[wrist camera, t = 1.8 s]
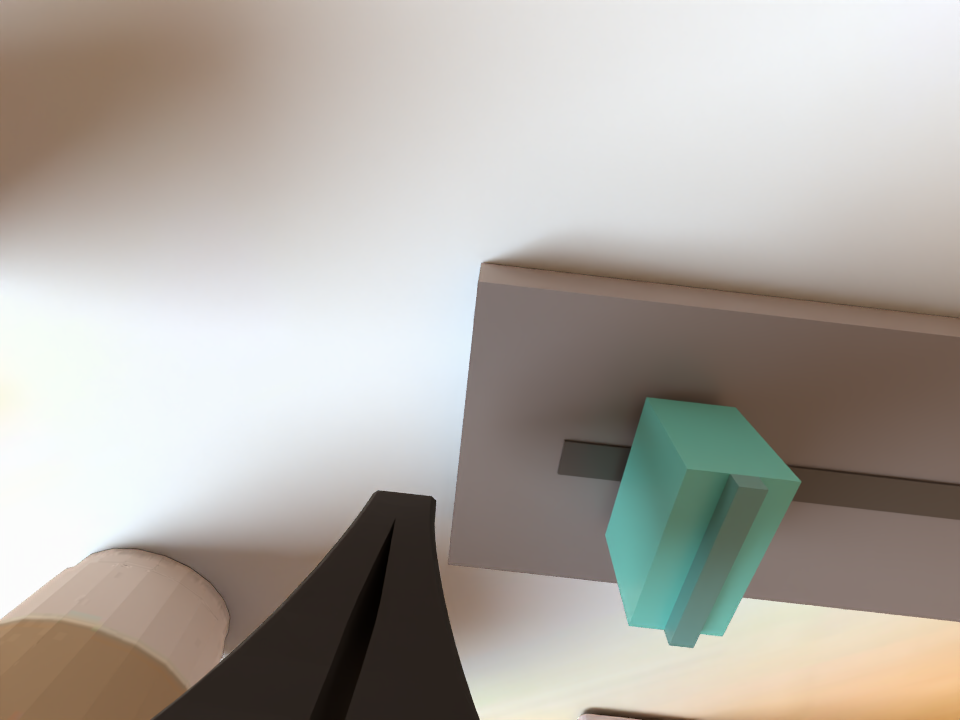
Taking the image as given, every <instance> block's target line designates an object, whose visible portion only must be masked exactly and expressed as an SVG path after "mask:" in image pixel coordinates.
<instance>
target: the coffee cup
mask: <svg viewBox="0 0 960 720" xmlns="http://www.w3.org/2000/svg"><path fill="white" fill-rule="evenodd" d="M229 620H230V616H229V613H228V610H227V607H226V604H225V602H224V599H223V598H222V597H221V596H220V594H219V593H218V592H217V591H216V589H215V588H214V587H213V586H212V585H211V583H210V582H208V581H207V580H206V579H204V578H203V577H202V576H200V575H199V574H198V573H196V572H195V571H194V570H192V569H191V568H190V567H187V566H185V565H183V564H181V563H179V562H177V561H175V560H172V559H170V558H168V557H166V556H163V555H159V554H155V553H151V552H147V551H143V550H139V549H109V550H105V551H101V552H97V553H93V554H91V555H89V556H88V557H86V558H85V559H84V560H82V561H81V562H80V563H78V564H77V565H76V566H74V567H70V568H67V569H65V570H64V571H62V572H61V573H60V574H58V575H57V576H56V577H54V578H53V579H51V580H50V581H49V582H48V583H46V584H45V585H44V586H42V587H41V588H40V589H39V590H37V591H36V592H35V593H34V594H32V595H31V596H30V597H28V598H27V599H26V600H25V601H23V602H22V603H21V604H20V605H18V606H17V607H16V608H15V609H13V610H12V611H11V612H9V613H8V614H7V615H6V616H4V617H3V618H2V619H1V620H0V720H150V719H152V718H153V717H154V716H156V715H157V714H158V713H159V712H161V711H162V710H163V709H165V708H166V707H167V706H168V705H170V704H171V703H172V702H174V701H175V700H176V699H177V698H179V697H180V696H181V695H182V694H183V693H185V692H186V691H187V690H188V689H190V688H191V687H192V686H193V685H194V684H195V683H197V682H198V681H199V680H200V679H201V678H203V677H204V676H205V675H206V674H207V673H208V672H210V671H211V670H212V669H213V668H214V667H215V666H216V665H217V664H219V663H220V660H221V658H222V655H223V649H224V640H225V638H226V635H227V633H228V628H229Z"/></svg>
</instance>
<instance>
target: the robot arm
mask: <svg viewBox="0 0 960 720" xmlns="http://www.w3.org/2000/svg"><path fill="white" fill-rule="evenodd" d="M435 511H436V500H435V499H434V498H433V497H432V496H424V495H415V494H406V493H397V492H388V491H379V490H378V491H376V492H375V493H373V495H372V496H371V498H370V499H369V501H368V502H367V504H366V505H365V507H364V508H363V509H362V511H361V512H360V514H359V515H358V516H357V518H356V519H355V520H354V522H353V523H352V524H351V526H350V527H349V528H348V529H347V531H346V532H345V533H344V535H343V536H342V537H341V538H340V539H339V541H338V542H337V543H336V544H335V545H334V547H333V548H332V549H331V550H330V551H329V553H328V554H327V555H326V556H325V557H324V559H323V560H322V561H321V562H320V563H319V565H318V566H317V567H316V568H315V569H314V570H313V571H312V572H311V573H310V575H309V576H308V577H307V578H306V579H305V580H304V581H303V582H302V583H301V584H300V585H299V586H298V588H297V589H296V590H295V591H294V592H293V593H292V594H291V595H290V596H289V597H288V598H287V599H286V600H285V601H284V603H283V604H282V605H281V606H280V607H279V608H278V609H277V610H276V611H275V612H274V613H273V614H272V615H271V616H270V617H269V618H268V619H267V620H266V621H264V622H263V623H262V624H261V625H260V626H259V627H258V628H257V629H256V630H255V631H254V632H253V633H252V634H251V635H250V636H249V637H248V638H247V639H246V640H244V641H243V642H242V643H241V644H240V645H239V646H238V647H237V648H236V649H235V650H233V651H232V652H231V653H230V654H229V655H228V656H227V657H225V658H224V659H223V660H222V661H221V662H220V663H219V664H217V665H216V666H215V667H214V668H213V669H212V670H211V671H210V672H208V673H207V674H206V675H205V676H204V677H203V678H201V679H200V680H199V681H198V682H197V683H195V684H194V685H193V686H192V687H191V688H190V689H188V690H187V691H186V692H185V693H183V694H182V695H181V696H180V697H179V698H177V699H176V700H175V701H174V702H172V703H171V704H170V705H168V706H167V707H166V708H165V709H163V710H162V711H161V712H159V713H158V714H157V715H156V716H154V717H153V718H152V719H150V720H480V719H479V716H478V714H477V711H476V708H475V706H474V703H473V700H472V697H471V694H470V690H469V687H468V684H467V681H466V678H465V675H464V672H463V669H462V665H461V662H460V658H459V655H458V652H457V648H456V645H455V641H454V637H453V633H452V629H451V625H450V621H449V617H448V613H447V608H446V604H445V600H444V595H443V590H442V584H441V578H440V572H439V566H438V560H437V552H436V542H435V526H434V522H435ZM577 720H640V719H631V718H622V717H613V716H604V715H595V714H583V715H581V716H579V718H578V719H577Z"/></svg>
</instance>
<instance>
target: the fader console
mask: <svg viewBox="0 0 960 720" xmlns="http://www.w3.org/2000/svg"><path fill="white" fill-rule="evenodd" d="M646 397H650V398H658V399H667V400H676V401H684V402H693V403H702V404H711V405H719V406H728V407H736V408H737V410H738V411H739V412H740V413H741V414H742V415H743V416H744V417H745V419H746V420H747V421H748V422H749V423H750V424H751V425H752V426H753V428H754V429H755V430H756V431H757V432H758V433H759V434H760V435H761V437H762V438H763V439H764V440H765V441H766V442H767V443H768V445H769V446H770V447H771V448H772V449H773V450H774V451H775V452H776V454H777V455H778V456H779V457H780V458H781V459H782V460H783V461H784V463H785V464H786V465H787V466H788V467H789V468H790V469H791V470H792V472H793V473H794V474H795V475H796V476H797V477H798V478H799V480H800V481H801V484H800V486H799V488H798V490H797V492H796V494H795V495H794V497H793V499H792V501H791V503H790V505H789V507H788V509H787V511H786V513H785V515H784V517H783V519H782V521H781V523H780V525H779V527H778V529H777V531H776V533H775V535H774V537H773V538H772V540H771V542H770V544H769V546H768V548H767V550H766V552H765V554H764V556H763V558H762V560H761V562H760V564H759V566H758V568H757V570H756V572H755V574H754V576H753V578H752V580H751V582H750V583H749V585H748V587H747V589H746V591H745V593H744V595H743V598H752V599H761V600H770V601H779V602H787V603H796V604H805V605H814V606H823V607H832V608H841V609H850V610H859V611H867V612H876V613H885V614H894V615H903V616H912V617H921V618H930V619H938V620H947V621H956V622H960V318H953V317H944V316H935V315H927V314H918V313H910V312H901V311H892V310H884V309H875V308H866V307H858V306H849V305H840V304H832V303H823V302H815V301H806V300H797V299H789V298H780V297H771V296H763V295H754V294H746V293H737V292H728V291H720V290H711V289H702V288H694V287H685V286H677V285H668V284H659V283H651V282H642V281H633V280H625V279H616V278H608V277H599V276H590V275H582V274H573V273H564V272H556V271H547V270H539V269H530V268H521V267H513V266H504V265H495V264H487V263H481V268H480V274H479V280H478V288H477V297H476V306H475V316H474V325H473V335H472V344H471V353H470V363H469V372H468V381H467V391H466V400H465V409H464V419H463V428H462V438H461V447H460V456H459V466H458V475H457V484H456V494H455V503H454V513H453V522H452V531H451V541H450V550H449V559H448V564H450V565H459V566H468V567H476V568H485V569H494V570H503V571H512V572H521V573H530V574H539V575H548V576H556V577H565V578H574V579H583V580H592V581H601V582H610V583H617V579H616V575H615V571H614V567H613V564H612V560H611V556H610V552H609V548H608V544H607V541H606V537H605V534H606V531H607V527H608V524H609V521H610V517H611V514H612V511H613V507H614V504H615V500H616V497H617V494H618V490H619V487H620V484H621V480H622V477H623V474H624V470H625V467H626V464H627V460H628V457H629V454H630V450H631V447H632V444H633V440H634V437H635V434H636V430H637V427H638V424H639V420H640V417H641V414H642V410H643V407H644V404H645V400H646Z"/></svg>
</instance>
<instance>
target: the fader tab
mask: <svg viewBox="0 0 960 720" xmlns="http://www.w3.org/2000/svg"><path fill="white" fill-rule="evenodd" d="M800 484H801V481H800V480H799V478H798V477H797V476H796V475H795V474H794V473H793V472H792V470H791V469H790V468H789V467H788V466H787V465H786V464H785V463H784V461H783V460H782V459H781V458H780V457H779V456H778V455H777V454H776V452H775V451H774V450H773V449H772V448H771V447H770V446H769V445H768V443H767V442H766V441H765V440H764V439H763V438H762V437H761V435H760V434H759V433H758V432H757V431H756V430H755V429H754V428H753V426H752V425H751V424H750V423H749V422H748V421H747V420H746V419H745V417H744V416H743V415H742V414H741V413H740V412H739V411H738V410H737V408H736V407H728V406H719V405H711V404H702V403H693V402H684V401H676V400H667V399H658V398H650V397H646V400H645V404H644V407H643V410H642V414H641V417H640V420H639V424H638V427H637V430H636V434H635V437H634V440H633V444H632V447H631V450H630V454H629V457H628V460H627V464H626V467H625V470H624V474H623V477H622V480H621V484H620V487H619V490H618V494H617V497H616V500H615V504H614V507H613V511H612V514H611V517H610V521H609V524H608V527H607V531H606V534H605V537H606V541H607V544H608V548H609V552H610V556H611V560H612V564H613V567H614V571H615V575H616V579H617V583H618V586H619V590H620V594H621V598H622V602H623V605H624V609H625V613H626V617H627V621H628V624H629V626H635V627H644V628H652V629H661V630H664V631H665V634H666V637H667V640H668V643H669V645H671V646H680V647H689V648H693V647H694V645H695V643H696V641H697V639H698V637H699V635H700V634H706V635H715V636H723V634H724V632H725V630H726V628H727V626H728V625H729V623H730V621H731V619H732V617H733V615H734V613H735V611H736V609H737V607H738V605H739V603H740V601H741V599H742V597H743V595H744V593H745V591H746V589H747V587H748V585H749V583H750V582H751V580H752V578H753V576H754V574H755V572H756V570H757V568H758V566H759V564H760V562H761V560H762V558H763V556H764V554H765V552H766V550H767V548H768V546H769V544H770V542H771V540H772V538H773V537H774V535H775V533H776V531H777V529H778V527H779V525H780V523H781V521H782V519H783V517H784V515H785V513H786V511H787V509H788V507H789V505H790V503H791V501H792V499H793V497H794V495H795V494H796V492H797V490H798V488H799V486H800Z"/></svg>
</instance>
